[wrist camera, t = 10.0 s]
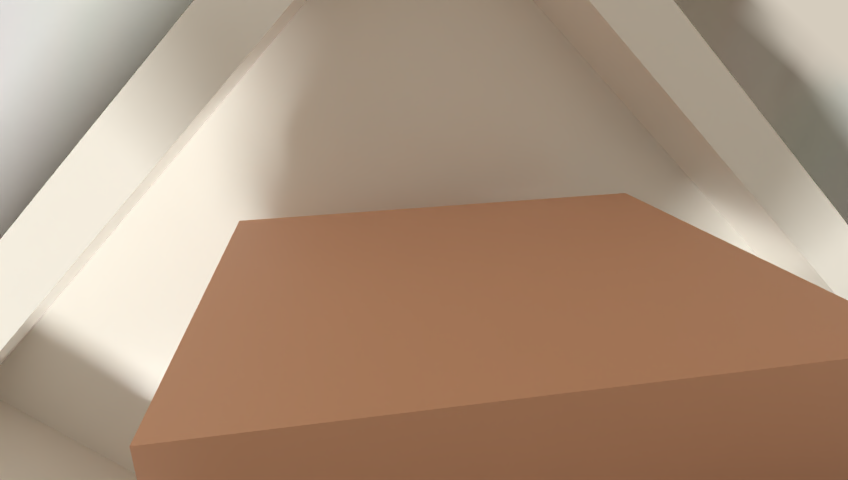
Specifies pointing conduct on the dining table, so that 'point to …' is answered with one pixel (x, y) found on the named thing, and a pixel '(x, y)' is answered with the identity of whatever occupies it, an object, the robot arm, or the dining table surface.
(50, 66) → the dining table surface
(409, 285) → the collar
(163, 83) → the tray
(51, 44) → the dining table surface
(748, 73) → the dining table surface
